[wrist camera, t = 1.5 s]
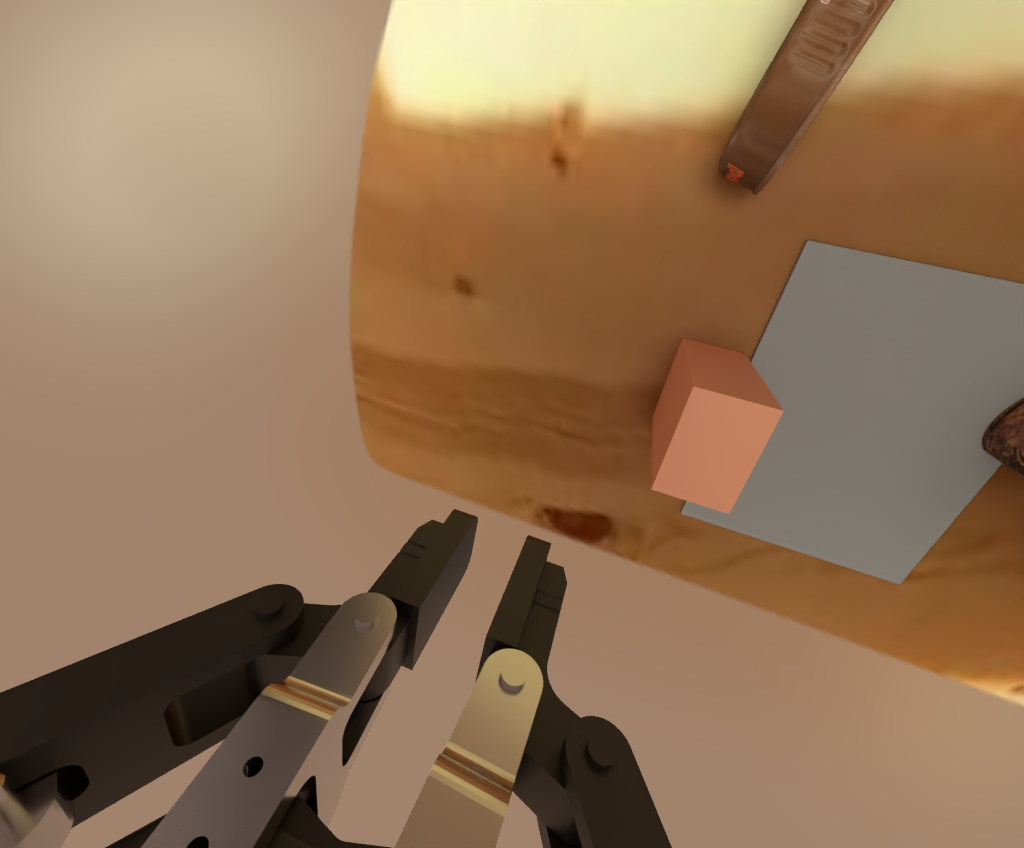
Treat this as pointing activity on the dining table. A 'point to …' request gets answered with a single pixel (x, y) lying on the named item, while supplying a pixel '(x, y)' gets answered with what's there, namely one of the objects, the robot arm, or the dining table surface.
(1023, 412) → the book
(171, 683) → the robot arm
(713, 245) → the dining table surface
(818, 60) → the tin
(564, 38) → the dining table surface
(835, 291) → the slate pad
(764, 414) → the terracotta block
